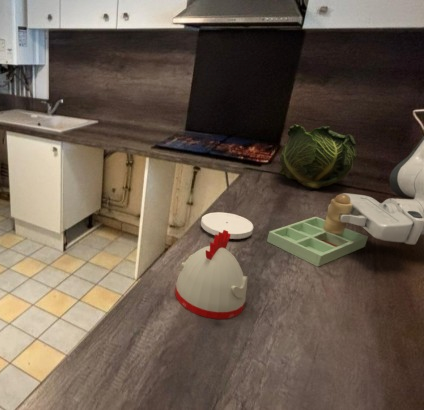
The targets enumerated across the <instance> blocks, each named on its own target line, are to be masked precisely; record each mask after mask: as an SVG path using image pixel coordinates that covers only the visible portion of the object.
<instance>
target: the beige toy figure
mask: <svg viewBox="0 0 424 410" xmlns="http://www.w3.org/2000/svg"><path fill="white" fill-rule="evenodd" d="M329 203H330V206H329V205H328V207H329V210H328V209H327V213H326V217H325V219H324V220H325V223H324V226H323V230H325V231H326V232H328V233H331V234H343V232H344V229H345V228H346V226H347V222H341V221H340V220H339V219H338V217H339V214H340V213H347V214H350V211H351V208H352V205H353V203H352V202H350V197H349V196H348V195H346V194H343V193H340V194H337V195H336V196H335V197H334V198H332V199H331V200H330V202H329Z"/></svg>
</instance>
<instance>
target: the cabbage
mask: <svg viewBox="0 0 424 410" xmlns="http://www.w3.org/2000/svg"><path fill="white" fill-rule="evenodd" d="M286 135H288V140H286V143H285V145H284V146H283V149H282V151H281V153H280V157H279V163H280V164H279V166H280V168H279V172H278V173H279V174H281V175H284V176H286V177H287V179H289V180H293V181H295V180H296V182H298V183H299V184H301V185H303V186H304V188H305V189H306V190H308V191H312V190H318V189H320V188H321V187H327V186H330V185H333V184H335V183H338V182H339V181H341V180H343V179H344V178H346V177H347V176H348V175H349V174H350V173H351V171H352V169H353V167H354V162H355V161H356V159H357V157H358V156H357V155H358V153H357V149H356V147H357V143H356V141H355V139H354V136H353V135H351V134H350V133H349V134H346V135H343V134H340V133H338V132H335V131H333V130H330V126H327V125H326V126H321V127H314V128H313V129H312V130H311V131H310V132H309V131H308V132H307V130H306V128H305V127H304V126H303V125H298V124H293V125H292V126H291V125H290V126H289V129H288V130H287V133H286Z"/></svg>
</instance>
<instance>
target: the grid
mask: <svg viewBox="0 0 424 410" xmlns="http://www.w3.org/2000/svg"><path fill="white" fill-rule="evenodd" d="M325 220H326V219H324V218H320V217H318V216H313V217H310V218H307V219H304V220H300V221H297V222H294V223H291V224H288V225H286V226H282V227H280V228H279V227H278V228H276V229H273V230H269V231H268V236H267V238H266V242H267V243H269V244H271V245H273V246H275V247H277V248H279V249H280V250H283V251H285V252H287V253H289V254H291V255H293V256H295V257H297V258H298V259H301V260H303V261H305V262H307V263H310V264H311V265H313V266H315V267H317V268H319V267H321V266H324V265H326V264H327V263H331V262H332V261H335V260H338V259H339V258H342V257H344V256H346V255H349V254H351V253H354V252H356V251H358V250H360V249H363V248H365V247H366V244H367V241H368V238H369V236H368V235H365V234H362V233H360V232H357V231H355V230H352V229H350V228H347V227H345V229H344V232H343V234H331V233H328V232H326V231H325V230H323V226H324V223H325Z"/></svg>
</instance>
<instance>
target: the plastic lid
mask: <svg viewBox="0 0 424 410" xmlns="http://www.w3.org/2000/svg"><path fill="white" fill-rule="evenodd" d="M200 226H201V228H202V229H203V231H205V232H206V233H208V234H210V235H213V236H215V234H216V235H219V232H221V233H223V230H226V231H228V233H229V234H231V235H230V238H229V240H232V239H233V240H241V239H245V238H249V237H251V236H252V235H253V231H254V224H253V223H252V221H250V220H249V219H247V218H246V217H243V216H240V215H238V214H234V213H230V212H219V211H217V212H209V213H206V214H204V215H202V217H201V220H200Z"/></svg>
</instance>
